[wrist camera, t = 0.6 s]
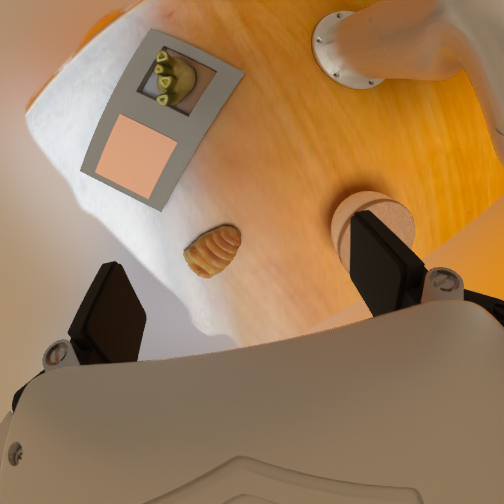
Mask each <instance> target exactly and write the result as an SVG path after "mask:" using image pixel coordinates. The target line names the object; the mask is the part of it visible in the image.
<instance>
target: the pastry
mask: <svg viewBox="0 0 504 504" xmlns="http://www.w3.org/2000/svg"><path fill="white" fill-rule="evenodd" d="M240 245H241V233H240V232H239V231H238V230H237V229H236V228H234V227H230V226H222V227H220V228H217V229H215V230H212V231H210V232H207V233H205V234H204V235H202V236H200V237H199V238H198V239H197V241H195V242H194V243H192V244H191V245H190V247H189V248H187V249H186V250H185V251H184V253H183V254H184V257H185V260H186V262H187V263H188V265H189V267H190V268H191V269H192V270H193V271H194V272H195V273H196V274H197V275H198V276H201V277H203V278H211V277H212V276H213V275H215V274H218V273H219V272H221V271H223V270H224V269H225V267H226V266H228V265H229V264H230V262H231V261H232V260H233V258H234V256H235V255H236V252H237V250H238V248H239V246H240Z"/></svg>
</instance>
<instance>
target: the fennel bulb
mask: <svg viewBox="0 0 504 504" xmlns="http://www.w3.org/2000/svg"><path fill="white" fill-rule="evenodd" d="M156 62H157V63H158V65H156V66H155V68H154V74H158V79H157V86H158V89H159V91H160V93H161V95H159V96H157V102H158V103H159V105H161V106H167V105H169V104H172V105H177V104H178V103H179V102H180V101H181V100H182V99H183V98H184V97H185V96H186V95H187V94H188V93H189V92H190V91H191V90H192V89H193V87H194V85H195V82H196V72H195V70H194V68H192V67H191V66H189V65H188V64H187V63H186V62H184V61H183V60H182V59H180V58H178V57H176V56H173V57H170V55H169V54H168V53H167V52H166V51H165V50H161V51H159V52H158V53H157V55H156Z"/></svg>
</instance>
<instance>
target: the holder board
mask: <svg viewBox="0 0 504 504" xmlns="http://www.w3.org/2000/svg"><path fill="white" fill-rule="evenodd" d="M167 48H168V49H170V50H172V51H174V52H177V53H179V54H181V55H183V56H185V57H187V58H189V59H191V60H194V61H196V62H198V63H200V64H202V65H204V66H206V67H208V68H209V69H211V70H213V71H215V72H217V73H216V75H215V76H214V78H213V79H212V81H211V82H210V84H209V85H208V87H207V88H206V90H205V91H204V93H203V94H202V96H201V97H200V99H199V101H198V102H197V104H196V105H195V107H194V109H193V110H192V112H191V114H190V115H188V114H186V113H184V112H182V111H180V110H178V109H176V108H174V107H172V106H170V105H167V106H161V105H159V103H158V102H157V99H156V98H154V97H152V96H150V95H147V94H145V93H143V92H141V91H142V89H143V88H144V86H145V84H146V82H147V81H148V79H149V77H150V75H151V74H152V72H153V70H154V68H155V66H156V65H157V64H158V63H157V62H156V55H157V53H158V52H159V51H161V50H165V51H166V50H167ZM244 74H245V73H243V72H241V71H240V70H238V69H236V68H234V67H233V66H231V65H229V64H227V63H225V62H223V61H221V60H220V59H218V58H216V57H214V56H212V55H210V54H208V53H206V52H204V51H202V50H200V49H198V48H196V47H194V46H191V45H189V44H187V43H185V42H183V41H180V40H178V39H176V38H174V37H171V36H169V35H166V34H164V33H162V32H159V31H157V30H154V29H152V28H151V29H150V30H149V32H148V33H147V35H146V36H145V38H144V39H143V41H142V42H141V44H140V46H139V47H138V49H137V50H136V52H135V54H134V55H133V57H132V59H131V60H130V62H129V64H128V66H127V67H126V69H125V71H124V73H123V74H122V76H121V78H120V80H119V82H118V84H117V86H116V87H115V89H114V91H113V93H112V95H111V97H110V99H109V101H108V103H107V106H106V108H105V110H104V112H103V114H102V116H101V119H100V121H99V123H98V125H97V128H96V130H95V133H94V135H93V137H92V140H91V142H90V145H89V147H88V150H87V153H86V155H85V158H84V161H83V164H82V167H81V169H80V171H81V172H83V173H85V174H87V175H89V176H91V177H93V178H95V179H97V180H99V181H101V182H103V183H105V184H107V185H109V186H111V187H113V188H115V189H116V190H118V191H120V192H122V193H124V194H126V195H128V196H130V197H132V198H134V199H136V200H138V201H140V202H142V203H144V204H146V205H148V206H150V207H152V208H154V209H156V210H158V211H160V212H162V210H163V208H164V206H165V204H166V202H167V200H168V198H169V196H170V195H171V193H172V191H173V189H174V187H175V185H176V183H177V181H178V180H179V178H180V176H181V174H182V172H183V171H184V169H185V167H186V165H187V163H188V162H189V160H190V158H191V157H192V155H193V153H194V151H195V150H196V148H197V146H198V145H199V143H200V141H201V140H202V138H203V136H204V135H205V133H206V131H207V130H208V128H209V126H210V125H211V123H212V122H213V120H214V119H215V117H216V115H217V114H218V112H219V111H220V109H221V108H222V106H223V105H224V103H225V102H226V100H227V99H228V97H229V96H230V94H231V93H232V91H233V90H234V88H235V87H236V85H237V84H238V82H239V81H240V80H241V78H242V77H243V75H244Z"/></svg>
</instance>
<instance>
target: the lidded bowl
mask: <svg viewBox="0 0 504 504" xmlns="http://www.w3.org/2000/svg"><path fill="white" fill-rule="evenodd" d="M363 210H370V211H371V212H372V213H373V214H374V215H375V216H376V217H378V218H379V219H380V220H381V221H382V222H383V223H384V224H385V225H386V226H387V227H388V228H389V229H390V230H391V231H392V232H394V233H395V234H396V235H397V236H398V237H399V238H400V239H401V240H402V241H403V242H404V243H405V244H406V245H407V246H408V247H409V248H410V249H411V247H412V245H413V241H414V237H415V224H414V219H413V217H412V215H411V213H410V211H409V210H408V209H407V208H406V207H405V206H403V205H402V204H400V203H399V202H397V201H395V200H394V199H392V198H391V197H389V196H387V195H385V194H382V193H379V192H375V191H361V192H357V193H354V194H352V195H350V196H349V197H347V198H346V199H345V200H344V201H342V202H341V204H340V205H339V206H338V208H337V209H336V211H335V213H334V215H333V218H332V222H331V238H332V242H333V246H334V248H335V251H336V253H337V255H338V257H339V259H340V261H341V263H342V265H343V266H344V268H345V269H346V270H347V271H348V272H349V273H350V219H351V216H354V213H355V212H358V211H363Z"/></svg>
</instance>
